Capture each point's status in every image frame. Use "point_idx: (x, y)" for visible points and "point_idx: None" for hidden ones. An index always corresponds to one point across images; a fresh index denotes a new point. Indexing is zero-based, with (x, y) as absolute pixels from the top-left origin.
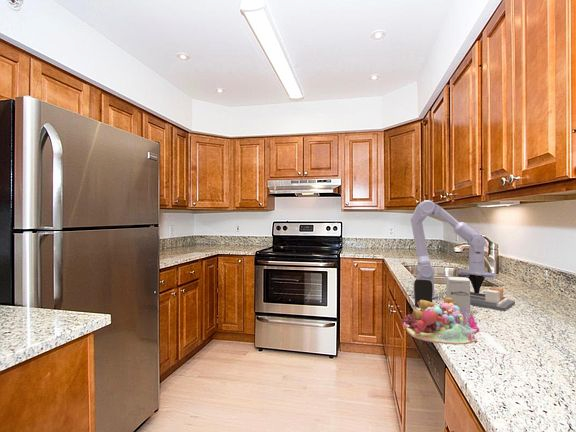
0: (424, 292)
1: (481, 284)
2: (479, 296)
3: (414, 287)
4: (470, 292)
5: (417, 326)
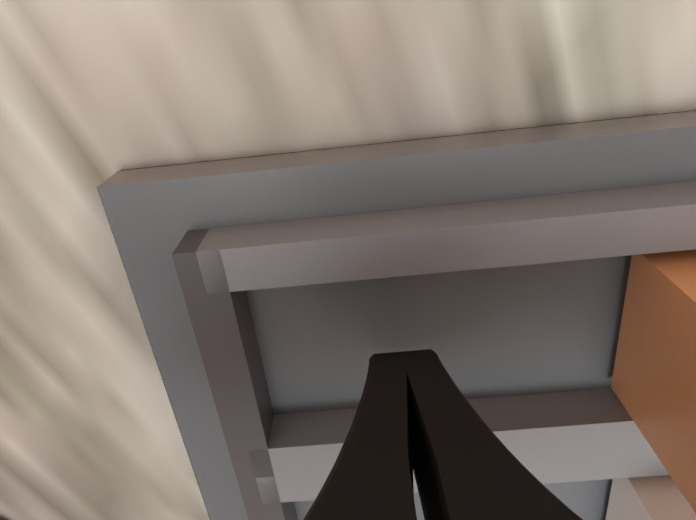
0: None
1: (524, 474)
2: None
3: None
4: (238, 286)
5: None
